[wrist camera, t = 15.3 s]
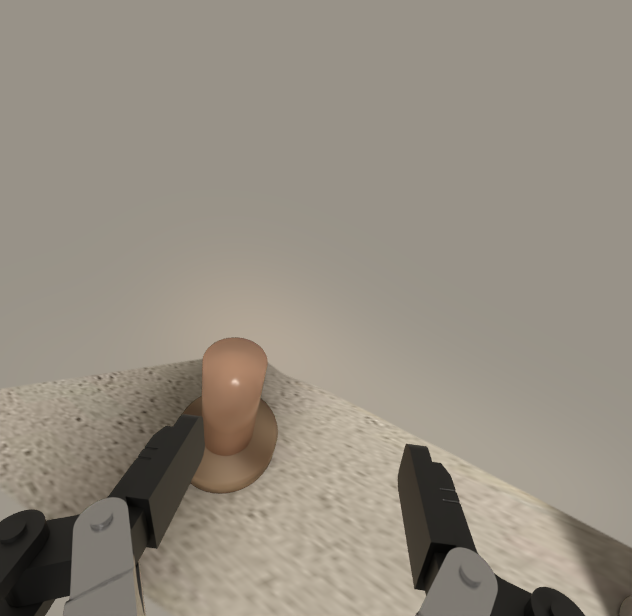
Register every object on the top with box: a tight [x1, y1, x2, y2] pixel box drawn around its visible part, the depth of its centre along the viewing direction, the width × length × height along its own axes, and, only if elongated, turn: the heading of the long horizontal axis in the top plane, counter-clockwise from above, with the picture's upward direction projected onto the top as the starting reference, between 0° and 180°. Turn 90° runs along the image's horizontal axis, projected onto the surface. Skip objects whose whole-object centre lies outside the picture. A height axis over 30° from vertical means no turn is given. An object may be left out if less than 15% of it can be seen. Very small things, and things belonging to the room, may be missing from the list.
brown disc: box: [182, 396, 278, 494], centre depth 33 cm, size 10×10×2 cm
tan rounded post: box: [202, 338, 267, 456], centre depth 29 cm, size 5×5×11 cm
